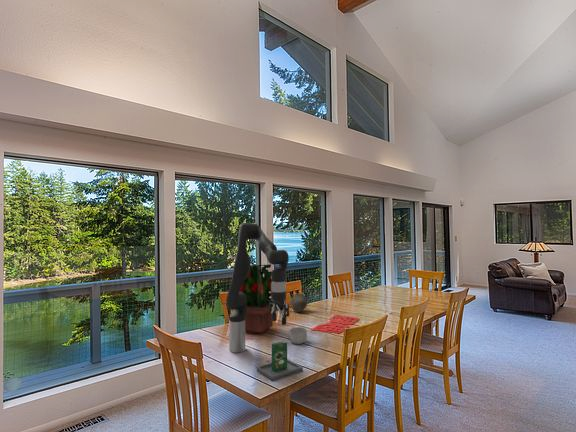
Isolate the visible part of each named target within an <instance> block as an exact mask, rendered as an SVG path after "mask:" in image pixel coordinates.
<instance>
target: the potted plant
mask: <svg viewBox="0 0 576 432" xmlns="http://www.w3.org/2000/svg"><path fill="white" fill-rule="evenodd" d="M271 267H272V264H270V263H269V264H254V263H252V265H250V270H249V274H248V276H247V278H246V279H245V281H244V282H243V284H242V286H241V288H240V292H243V293H244V294H245V295H246V299H247V310H246V316H245V333H251V334H257V335H262V334H264V333H265V332H267V331H268V330H270V328H271V327H273V326H274V323H273V322H274V321H272V313H271V312H270V311H269V300H272V299H271V282H272V276H271V273H272V270H271V271H269V270H268V269H270V268H271ZM271 309H272V307H271Z"/></svg>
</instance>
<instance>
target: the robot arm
mask: <svg viewBox="0 0 576 432" xmlns="http://www.w3.org/2000/svg"><path fill="white" fill-rule="evenodd" d="M237 238H238V239H237V248H236V254H235V259H234V263H233V271H232V275H231V279H230V280H231V281H230V284H229V287H228V290H227V294H226V295H227V296H226V300H225V303H226V306H227V307H226V308H227V309H228V310H231V311H232V313H231V314H230V315H229V317H228V318H229V319H228V326H229V327H228V328H229V331H228V332H229V333H228V343H229V345H228V348H229V352H232V353H242V352H244V351H246V330H245V316H246V310H247V299H246V295H245V294H244V293H243V292H240V288H241V286H242V284H243V282H244V281H245V279H246V278H247V276H248V274H249V270H250V266H251V264H252V263H251V258H250V255H249V252H248V249H247V240H256V241H257V242H258V243H257V245H258V248H259V250H260V251H261V252H262V253H263V254H264V255H265V257H266V259H267V261H268V263H269V265H270V264H271V265H275V266H276V265H278V266H277V267H276V268H274V269H272V270H271V271H272V273H271V279H272V282H271V291H270V293H271V296H270V298H271V300H269V311H270V312H271V313H272V321H273V322H276V321H277V312H278V313H279V314H280V316H281V325H282V326H286V324H287V317H290V306H289V305H290V304H289V303H285V301H286V300H287V283H286V274H287V273H286V272H287V268H288V264H289V259H290V258H289V256H290V255H289V253H288V252H287V250H285V249H279V250H278V248H277V245H276V244H274V243H273V242H272V241H271V240H270V239H269V238H268V237H267V236H266V234H265V233H264V231H263V230H262V228H261V227H260V226H259V225H258V224H257V223H250V222H242V223H241V224H240V225H239V228H238V237H237ZM271 307H272V309H271Z"/></svg>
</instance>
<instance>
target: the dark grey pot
mask: <svg viewBox="0 0 576 432" xmlns="http://www.w3.org/2000/svg"><path fill="white" fill-rule="evenodd" d="M307 305H308V299H307V298H306V296H305V295H304V293H295V294H294V295H293V296H292V297H291V300H290V307H291V309H292V310H293V312H295V313H301V312H303V311H305V309H306V308H307V307H308V306H307Z"/></svg>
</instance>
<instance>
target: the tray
mask: <svg viewBox="0 0 576 432" xmlns="http://www.w3.org/2000/svg"><path fill="white" fill-rule="evenodd" d="M271 365H272V363H271V362H269V363H265V364H262V365H259V366H256V371H257V372H258V373H259V374H260V375H262V376H263V377H265V378H267V379H268V380H270V381H272V382H274V381H278V380H280V379H283V378H285V377H286V378H287V377H289V376H291V375H295V374H297V373H301V372H303V370H304V369H303V366H302V365H300V364H298V363H297V362H295V361H292V360H290V359H289V358H287V368H286V369H282V370H279V371H275V372H273V371H272V368H271Z"/></svg>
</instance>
